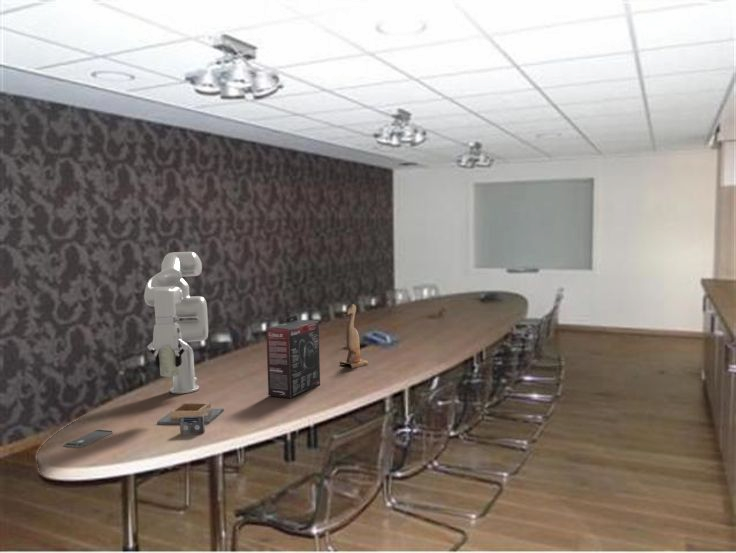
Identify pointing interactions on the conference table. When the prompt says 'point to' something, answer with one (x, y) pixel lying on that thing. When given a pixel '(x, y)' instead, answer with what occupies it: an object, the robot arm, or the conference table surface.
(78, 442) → the phone
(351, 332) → the bird sculpture
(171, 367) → the skincare box
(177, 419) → the collar socket
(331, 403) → the conference table surface
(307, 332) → the headset box
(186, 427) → the mini dv tape
